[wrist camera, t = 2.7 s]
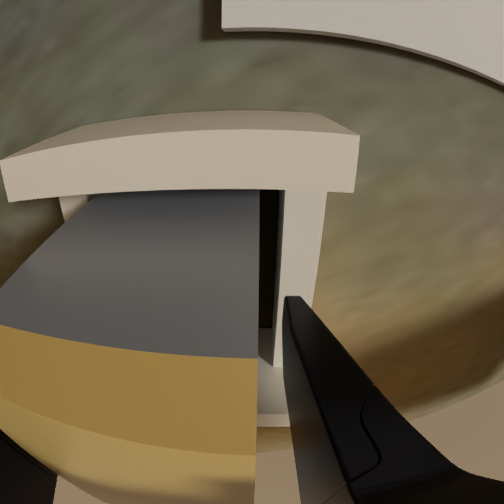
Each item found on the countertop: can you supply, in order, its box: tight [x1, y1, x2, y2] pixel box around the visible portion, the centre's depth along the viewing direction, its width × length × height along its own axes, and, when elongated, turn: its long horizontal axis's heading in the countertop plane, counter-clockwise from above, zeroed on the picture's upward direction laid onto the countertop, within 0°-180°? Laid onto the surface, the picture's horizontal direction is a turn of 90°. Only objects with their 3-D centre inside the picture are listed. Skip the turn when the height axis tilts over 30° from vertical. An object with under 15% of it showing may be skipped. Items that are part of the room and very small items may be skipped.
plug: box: [0, 189, 260, 504], centre depth 7 cm, size 4×6×8 cm, turn 0°
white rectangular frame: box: [0, 110, 360, 427], centre depth 9 cm, size 7×9×4 cm
